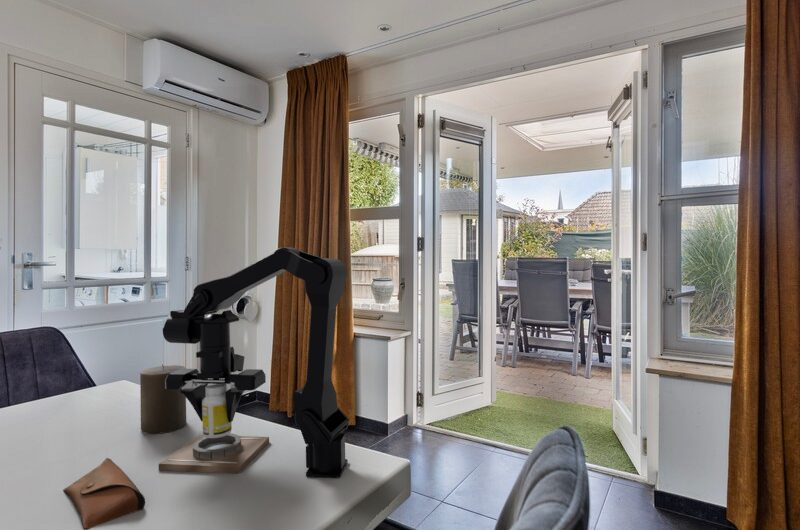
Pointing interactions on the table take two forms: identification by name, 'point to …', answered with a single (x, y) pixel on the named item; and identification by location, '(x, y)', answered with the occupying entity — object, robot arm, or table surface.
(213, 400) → the supplement bottle
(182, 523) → the table surface
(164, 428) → the pillar candle
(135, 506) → the sunglasses case
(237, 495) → the table surface
